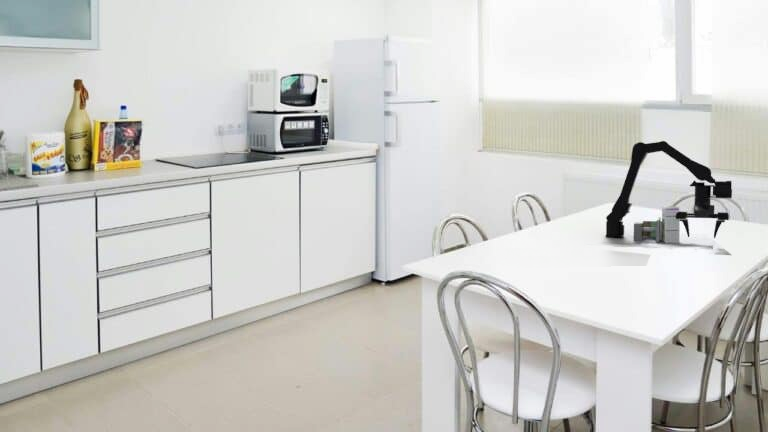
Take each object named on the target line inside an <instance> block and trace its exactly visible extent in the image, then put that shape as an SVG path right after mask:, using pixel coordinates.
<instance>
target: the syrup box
mask: <svg viewBox="0 0 768 432" xmlns="http://www.w3.org/2000/svg"><path fill="white" fill-rule="evenodd" d="M679 211H680V207H679V206H676V205H675V206H673V205H671V206H670V205H668V206H666V205H665V206H661V213H662V214H661V221H662V238H661V241H662V242H664V243H665V244H666V243H667V244H680V234H681V233H680V232H681V231H680V221H679V220H680V219H676V214H677V212H679Z"/></svg>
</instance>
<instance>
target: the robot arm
mask: <svg viewBox="0 0 768 432" xmlns="http://www.w3.org/2000/svg"><path fill="white" fill-rule="evenodd" d="M659 152H663V153H664V154H666V155H667V156H669V157H670V158H671V159H673V160H675V161H676V162H677V163H679V164H680V165H682V166H683V167H685V168H686V169H687V170H688V171H689V172H690V173H691V174H692V175H693V177H695V178H696V179H697V180H699V181H698V182H697V181H696V180H693V181H692V183H690V184H689V187H694V202H693V203H694V205H693V213H692V212H691V213H689V212H688V211H682V210H681V211H680V210H679V212H677V214H676V219H679V222H681V223H682V224H683V226H684V228H685V231H686V235H687V237H688V238H690V227H689V219H691V218H692V219H694V218H695V219H716V220H715V227H714V231H713V232H714V233H713V239H716V236H717V234H718V231H719V228H721V225H722V223H725V222H726V221H729V220H730V214H729V213H728V212H724V211H720V212H719V211H717V213H715V205H714V204H711V200H712V199H711V195H712V196H715V199H732V198H733V197H732V196H733V189H732V183H733V182H732V181H731V180H726V181H717V180H716V178H714V177H713V176H712V170H711V169H710V168H709V167H708V166H706V165H703V164H701V163H700V162H697V161H695V160H692V159H691V158H689V157H688V156H686V155H685V154H683V153H682V152H681V151H679V150H678V149H676V148H675V147H673V146H672V145H671V144H669V143H668V142H667V141H664V140H661V141H657V142H649V143H644V142H642V141H640V142H636V143H635V144H634V145H632V150H631V157H630V158H631V159H630V164H629V166H628V167H629V168H628V170H627V173H626V176H625V180H624V182H623V186H622V188H621V191H620V195H619V196H618V198H617V199H616V201H615V203H614V205H613V207H611V212H610V213H608V215H606V217H605V218H606V225H605V227H606V228H605V229H606V230H605V231H606V232H605V237H623V236H624V235H625V224H624V221H623V219H624V217H626V216H627V215H628V214H630V213H631V211H630V210H631V207H632V205H633V203H632V202H631V203H630V198H631V194H632V192H633V189H634V186H635V183H636V181H637V180H636V179H637V177H638V174H639V171H640V167H642V166H641V165H642V164H643V162H644V161H645V159H646V158H647V156H648V154H654V153H659ZM704 181H705V182H707V183H709V185H708V184H705V182H704ZM712 184H713V185H712ZM688 218H689V219H688Z"/></svg>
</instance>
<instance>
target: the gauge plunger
mask: <svg viewBox="0 0 768 432" xmlns="http://www.w3.org/2000/svg"><path fill="white" fill-rule="evenodd" d="M656 221H657V222H656V228H649V227H642V231H653V232H656V237H655V242H656V243H658V242H660V240H662V238H661V221H662V216H658V219H657V220H656Z"/></svg>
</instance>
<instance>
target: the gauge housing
mask: <svg viewBox="0 0 768 432" xmlns="http://www.w3.org/2000/svg"><path fill="white" fill-rule="evenodd" d="M656 222H657V220H654V221H653V220H643V221H642V222H634V223H633V242H643V240H644V237H650V238H656V232H653V231H642V227H649V228H656ZM661 239H662V220H661Z"/></svg>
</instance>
